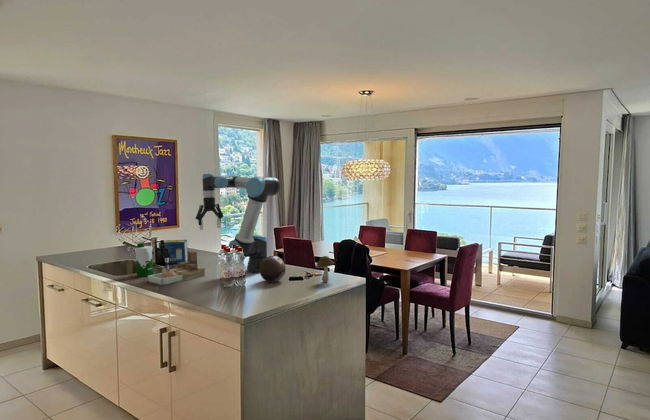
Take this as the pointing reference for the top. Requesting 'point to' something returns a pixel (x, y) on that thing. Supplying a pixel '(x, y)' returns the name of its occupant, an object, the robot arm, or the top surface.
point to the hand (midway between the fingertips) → (210, 229)
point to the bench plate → (189, 273)
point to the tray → (160, 281)
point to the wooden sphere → (272, 269)
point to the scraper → (189, 261)
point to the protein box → (176, 250)
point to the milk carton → (144, 260)
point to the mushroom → (325, 266)
